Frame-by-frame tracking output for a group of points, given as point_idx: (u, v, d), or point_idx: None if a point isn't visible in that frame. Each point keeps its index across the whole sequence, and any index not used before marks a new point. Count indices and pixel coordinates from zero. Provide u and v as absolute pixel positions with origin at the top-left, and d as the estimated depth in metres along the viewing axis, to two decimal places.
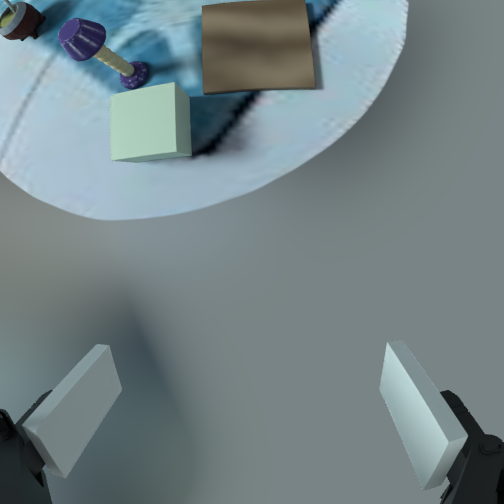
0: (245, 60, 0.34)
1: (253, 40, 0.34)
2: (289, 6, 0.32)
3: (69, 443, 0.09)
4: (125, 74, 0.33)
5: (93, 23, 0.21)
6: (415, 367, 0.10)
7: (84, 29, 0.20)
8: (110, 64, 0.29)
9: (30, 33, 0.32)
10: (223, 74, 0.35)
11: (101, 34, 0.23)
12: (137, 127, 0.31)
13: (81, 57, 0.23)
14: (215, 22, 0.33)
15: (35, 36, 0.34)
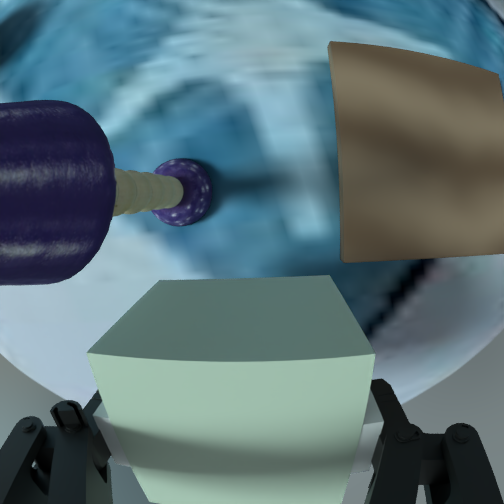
0: (424, 195, 0.17)
1: (437, 149, 0.17)
2: (481, 81, 0.15)
3: None
4: (165, 207, 0.16)
5: (44, 127, 0.04)
6: None
7: None
8: (132, 213, 0.12)
9: None
10: (385, 225, 0.18)
11: (92, 187, 0.06)
12: (219, 469, 0.09)
13: (33, 284, 0.06)
14: (364, 89, 0.16)
15: None
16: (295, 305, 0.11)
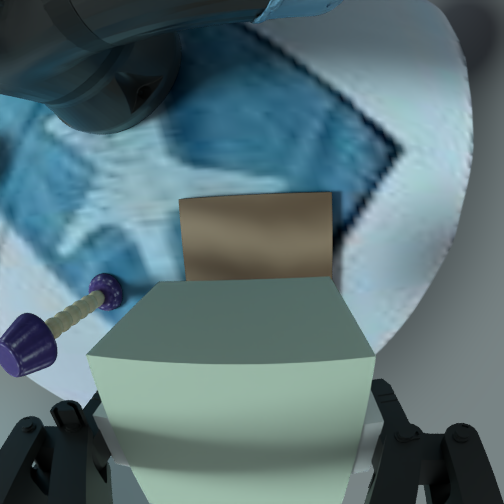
0: None
1: (254, 269, 0.30)
2: (307, 206, 0.28)
3: None
4: None
5: (32, 339, 0.18)
6: None
7: (26, 364, 0.17)
8: (73, 324, 0.25)
9: None
10: None
11: (49, 350, 0.19)
12: (218, 471, 0.09)
13: None
14: (200, 234, 0.29)
15: None
16: (296, 307, 0.11)
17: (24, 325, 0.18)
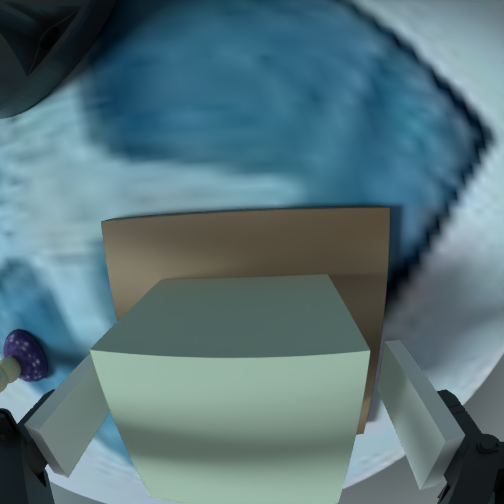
0: None
1: None
2: (345, 234, 0.14)
3: (71, 443, 0.09)
4: None
5: None
6: (412, 366, 0.11)
7: None
8: None
9: None
10: None
11: None
12: (218, 464, 0.09)
13: None
14: (140, 285, 0.15)
15: None
16: (293, 303, 0.11)
17: None
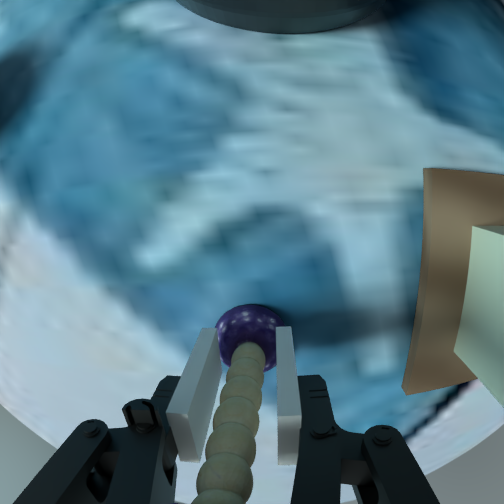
0: None
1: None
2: None
3: (201, 425, 0.11)
4: None
5: None
6: (287, 350, 0.13)
7: None
8: None
9: None
10: (448, 361, 0.16)
11: None
12: None
13: None
14: (457, 231, 0.15)
15: None
16: None
17: None
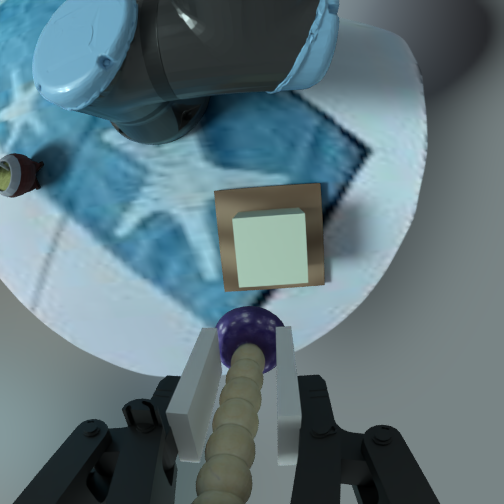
0: None
1: None
2: (304, 193, 0.41)
3: (201, 425, 0.11)
4: None
5: None
6: (287, 350, 0.13)
7: None
8: None
9: (32, 187, 0.41)
10: None
11: None
12: (266, 257, 0.36)
13: None
14: (230, 215, 0.42)
15: (38, 187, 0.43)
16: (286, 211, 0.38)
17: None
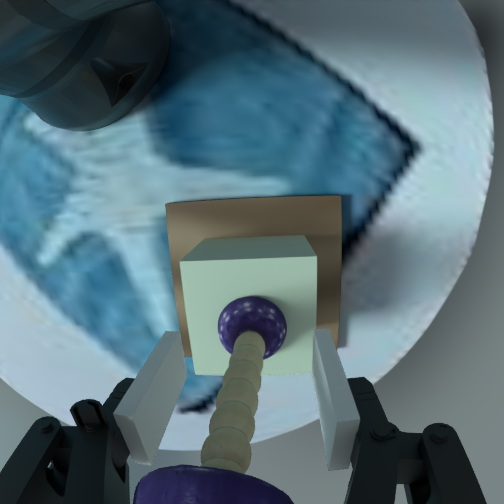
0: None
1: None
2: (314, 211, 0.24)
3: (154, 428, 0.10)
4: None
5: None
6: (331, 352, 0.12)
7: None
8: None
9: None
10: None
11: None
12: None
13: None
14: (190, 243, 0.25)
15: None
16: (282, 244, 0.21)
17: None
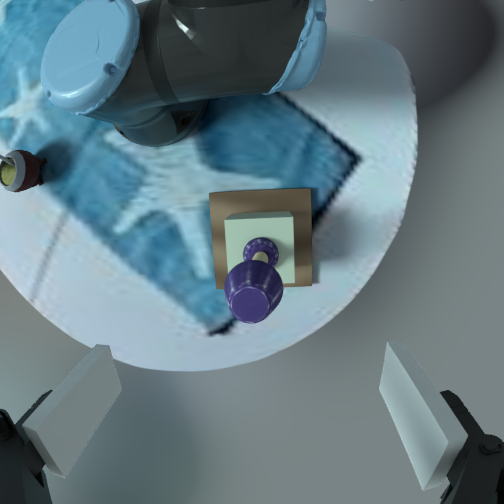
0: None
1: None
2: (294, 197, 0.43)
3: (69, 443, 0.09)
4: None
5: (274, 281, 0.23)
6: (415, 367, 0.10)
7: (273, 305, 0.22)
8: None
9: (35, 183, 0.43)
10: None
11: (281, 293, 0.24)
12: None
13: None
14: (223, 216, 0.44)
15: (41, 183, 0.45)
16: (276, 214, 0.40)
17: (261, 269, 0.23)
